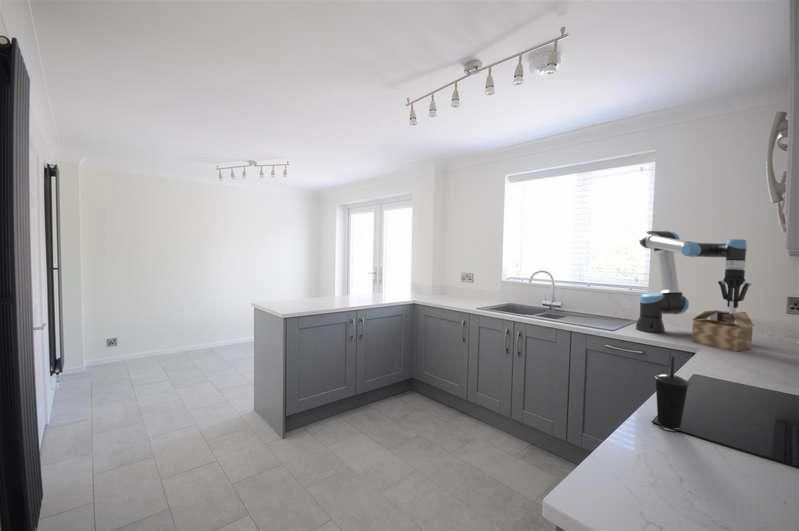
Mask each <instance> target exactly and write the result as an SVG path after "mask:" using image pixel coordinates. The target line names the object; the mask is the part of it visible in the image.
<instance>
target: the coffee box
mask: <svg viewBox="0 0 799 531" xmlns="http://www.w3.org/2000/svg"><path fill="white" fill-rule="evenodd" d="M709 320H714V321H721V322H727V323H733V324H736V320H735V319H734V317H733V315H732V314H729V311H724V310H718V312H716V313H714V314H713V315H711V316H710V317H709Z"/></svg>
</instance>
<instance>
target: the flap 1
mask: <svg viewBox="0 0 799 531" xmlns="http://www.w3.org/2000/svg"><path fill="white" fill-rule="evenodd" d="M718 311H719V310H718V309H717V310H716V309H715V310H705V311H703V312H701V313H700V314H698V315H697V316H695V317H693V318H692V319H691V321H694V320H704V319H708V318H710V316H711V315H713V314H714V313H716V312H718Z"/></svg>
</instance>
